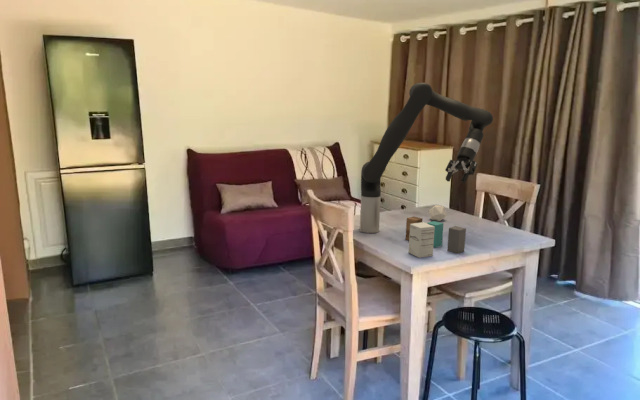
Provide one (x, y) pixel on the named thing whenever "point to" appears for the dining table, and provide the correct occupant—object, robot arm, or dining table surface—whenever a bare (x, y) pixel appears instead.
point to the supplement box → (421, 239)
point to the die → (437, 213)
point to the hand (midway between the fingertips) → (454, 181)
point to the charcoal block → (456, 239)
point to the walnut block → (411, 221)
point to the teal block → (437, 233)
